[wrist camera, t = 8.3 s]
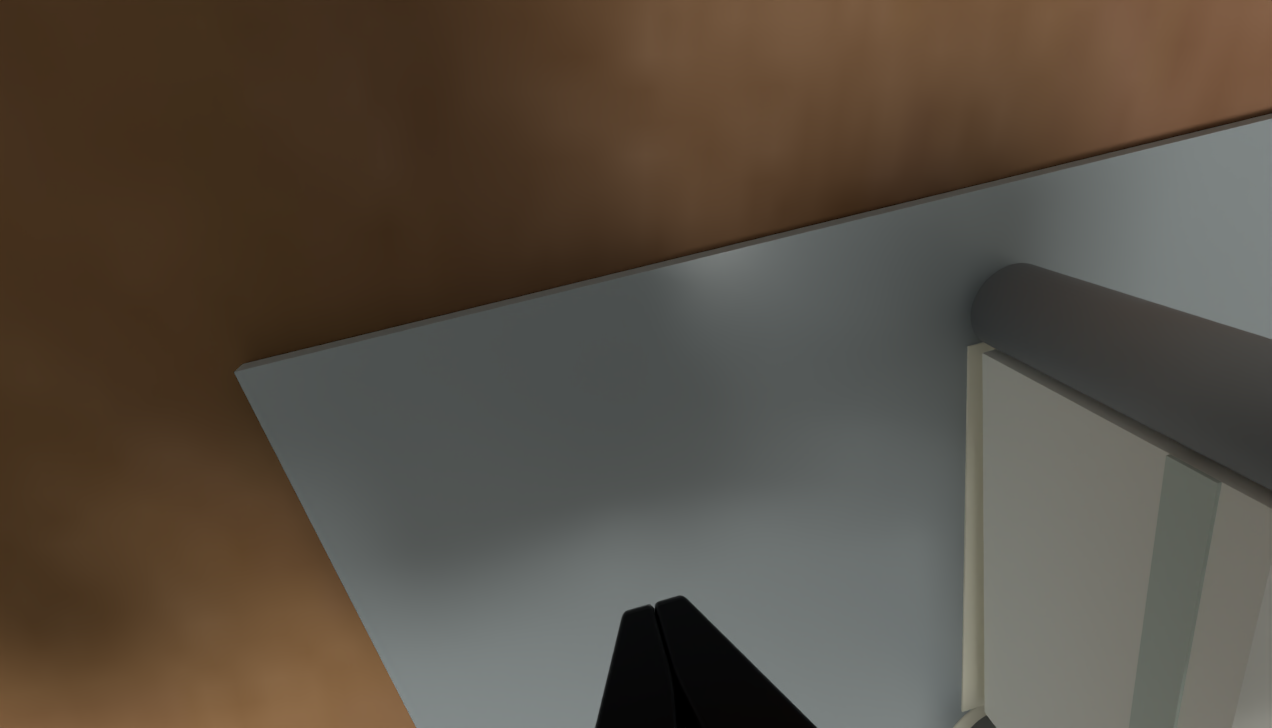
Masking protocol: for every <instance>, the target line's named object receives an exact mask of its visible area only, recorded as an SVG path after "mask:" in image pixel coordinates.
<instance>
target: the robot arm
mask: <svg viewBox="0 0 1272 728" xmlns="http://www.w3.org/2000/svg"><path fill="white" fill-rule="evenodd" d="M595 728H817V727H816V726H815V725H814V724H813V723H812V722H811V721H810V720H809V719H808V718H807V717H806V716H805V715H804V714H803V713H802V712H801V711H800V710H799V709H798V708H797V707H796V706H795V705H794V704H793V703H792V702H791V701H790V700H789V699H788V698H787V697H786V696H785V695H784V694H783V693H782V692H781V691H780V690H779V689H778V688H777V687H776V686H775V685H774V684H773V683H772V682H771V681H770V680H769V679H768V678H767V677H766V676H765V675H764V674H763V673H762V672H761V671H760V670H759V669H758V668H757V667H756V666H755V665H754V664H753V663H752V662H751V661H750V660H749V659H748V658H747V657H746V656H745V655H744V654H743V653H742V652H741V651H740V650H739V649H738V648H737V647H736V646H735V645H734V644H733V643H732V642H731V641H730V640H729V639H728V638H727V637H725V636H724V635H723V634H722V633H721V632H720V631H719V630H718V629H717V628H716V627H715V626H714V625H713V624H712V623H711V622H710V621H709V620H708V619H707V618H706V617H705V616H704V615H703V614H702V613H701V612H700V611H699V610H698V609H697V608H696V607H695V606H694V605H693V604H692V603H691V602H690V601H689V600H688V599H687V598H686V597H684V596H682V595H679V596H675V597H671V598H668V599H664V600H661V601H658V602H657V603H656V604H655V609H654V607H653V606H652V605H650V604H647V605H643V606H640V607H636V608H633V609H629V610H626V611H625V612H624V613H623V615H622V618H621V621H620V626H619V630H618V634H617V638H616V642H615V646H614V651H613V655H612V659H611V663H610V667H609V671H608V675H607V680H606V684H605V688H604V692H603V696H602V700H601V705H600V709H599V713H598V717H597V721H596V725H595Z"/></svg>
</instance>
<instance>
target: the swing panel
mask: <svg viewBox="0 0 1272 728" xmlns="http://www.w3.org/2000/svg"><path fill="white" fill-rule="evenodd" d="M971 325H972V328H973V331H974V333H975V335H976V336H977V337H978V338H979V339H980V340H981V341H982V342H984V343H986V344H988V345H990V346H991V347H993V348H995V349H994V350H991V351H987V352H984V353H982V378H983V536H984V695H985V713H986V715H987V716H988V717H989V719H990V720H991V721H992V723H993V724H994V725H995V727H996V728H1272V339H1269V338H1266V337H1263V336H1260V335H1257V334H1253V333H1250V332H1247V331H1244V330H1241V329H1237V328H1234V327H1231V326H1228V325H1225V324H1221V323H1218V322H1215V321H1212V320H1209V319H1205V318H1202V317H1199V316H1196V315H1193V314H1189V313H1186V312H1183V311H1180V310H1177V309H1173V308H1170V307H1167V306H1164V305H1161V304H1157V303H1154V302H1151V301H1148V300H1145V299H1141V298H1138V297H1135V296H1132V295H1129V294H1125V293H1122V292H1119V291H1116V290H1113V289H1109V288H1106V287H1103V286H1100V285H1097V284H1093V283H1090V282H1087V281H1084V280H1081V279H1077V278H1074V277H1071V276H1068V275H1065V274H1061V273H1058V272H1055V271H1052V270H1049V269H1045V268H1042V267H1039V266H1036V265H1033V264H1028V263H1016V264H1012V265H1009V266H1006V267H1004V268H1002V269H1000V270H998V271H997V272H995V273H994V274H993V275H992V276H990V277H989V278H988V279H987V280H986V281H985V283H984V284H983V285H982V286H981V288H980V289H979V291H978V293H977V294H976V296H975V299H974V301H973V304H972V308H971Z"/></svg>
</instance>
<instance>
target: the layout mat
mask: <svg viewBox="0 0 1272 728" xmlns="http://www.w3.org/2000/svg"><path fill="white" fill-rule="evenodd" d="M1016 263H1028V264H1033V265H1036V266H1039V267H1042V268H1045V269H1049V270H1052V271H1055V272H1058V273H1061V274H1065V275H1068V276H1071V277H1074V278H1077V279H1081V280H1084V281H1087V282H1090V283H1093V284H1097V285H1100V286H1103V287H1106V288H1109V289H1113V290H1116V291H1119V292H1122V293H1125V294H1129V295H1132V296H1135V297H1138V298H1141V299H1145V300H1148V301H1151V302H1154V303H1157V304H1161V305H1164V306H1167V307H1170V308H1173V309H1177V310H1180V311H1183V312H1186V313H1189V314H1193V315H1196V316H1199V317H1202V318H1205V319H1209V320H1212V321H1215V322H1218V323H1221V324H1225V325H1228V326H1231V327H1234V328H1237V329H1241V330H1244V331H1247V332H1250V333H1253V334H1257V335H1260V336H1263V337H1266V338H1269V339H1272V113H1271V114H1267V115H1263V116H1259V117H1255V118H1250V119H1246V120H1242V121H1238V122H1234V123H1230V124H1226V125H1222V126H1218V127H1214V128H1209V129H1205V130H1201V131H1197V132H1193V133H1189V134H1185V135H1181V136H1177V137H1172V138H1168V139H1164V140H1160V141H1156V142H1152V143H1148V144H1144V145H1140V146H1136V147H1131V148H1127V149H1123V150H1119V151H1115V152H1111V153H1107V154H1103V155H1099V156H1094V157H1090V158H1086V159H1082V160H1078V161H1074V162H1070V163H1066V164H1062V165H1058V166H1053V167H1049V168H1045V169H1041V170H1037V171H1033V172H1029V173H1025V174H1021V175H1016V176H1012V177H1008V178H1004V179H1000V180H996V181H992V182H988V183H984V184H980V185H975V186H971V187H967V188H963V189H959V190H955V191H951V192H947V193H943V194H938V195H934V196H930V197H926V198H922V199H918V200H914V201H910V202H906V203H902V204H897V205H893V206H889V207H885V208H881V209H877V210H873V211H869V212H865V213H860V214H856V215H852V216H848V217H844V218H840V219H836V220H832V221H828V222H824V223H819V224H815V225H811V226H807V227H803V228H799V229H795V230H791V231H787V232H782V233H778V234H774V235H770V236H766V237H762V238H758V239H754V240H750V241H746V242H741V243H737V244H733V245H729V246H725V247H721V248H717V249H713V250H709V251H704V252H700V253H696V254H692V255H688V256H684V257H680V258H676V259H672V260H668V261H663V262H659V263H655V264H651V265H647V266H643V267H639V268H635V269H631V270H626V271H622V272H618V273H614V274H610V275H606V276H602V277H598V278H594V279H590V280H585V281H581V282H577V283H573V284H569V285H565V286H561V287H557V288H553V289H548V290H544V291H540V292H536V293H532V294H528V295H524V296H520V297H516V298H512V299H507V300H503V301H499V302H495V303H491V304H487V305H483V306H479V307H475V308H470V309H466V310H462V311H458V312H454V313H450V314H446V315H442V316H438V317H434V318H429V319H425V320H421V321H417V322H413V323H409V324H405V325H401V326H397V327H392V328H388V329H384V330H380V331H376V332H372V333H368V334H364V335H360V336H356V337H351V338H347V339H343V340H339V341H335V342H331V343H327V344H323V345H319V346H314V347H310V348H306V349H302V350H298V351H294V352H290V353H286V354H282V355H278V356H273V357H269V358H265V359H261V360H257V361H253V362H249V363H245V364H242V365H241V366H240V367H239V368H238V369H237V370H235V371H234V373H235V375H236V377H237V379H238V381H239V383H240V385H241V387H242V389H243V391H244V393H245V395H246V397H247V399H248V401H249V403H250V405H251V407H252V409H253V411H254V412H255V414H256V416H257V418H258V420H259V422H260V424H261V426H262V428H263V430H264V432H265V434H266V436H267V438H268V440H269V442H270V444H271V446H272V448H273V449H274V451H275V453H276V455H277V457H278V459H279V461H280V463H281V465H282V467H283V469H284V471H285V473H286V475H287V477H288V479H289V481H290V483H291V485H292V486H293V488H294V490H295V492H296V494H297V496H298V498H299V500H300V502H301V504H302V506H303V508H304V510H305V512H306V514H307V516H308V518H309V520H310V522H311V523H312V525H313V527H314V529H315V531H316V533H317V535H318V537H319V539H320V541H321V543H322V545H323V547H324V549H325V551H326V553H327V555H328V557H329V559H330V561H331V562H332V564H333V566H334V568H335V570H336V572H337V574H338V576H339V578H340V580H341V582H342V584H343V586H344V588H345V590H346V592H347V594H348V596H349V598H350V599H351V601H352V603H353V605H354V607H355V609H356V611H357V613H358V615H359V617H360V619H361V621H362V623H363V625H364V627H365V629H366V631H367V633H368V635H369V636H370V638H371V640H372V642H373V644H374V646H375V648H376V650H377V652H378V654H379V656H380V658H381V660H382V662H383V664H384V666H385V668H386V670H387V672H388V673H389V675H390V677H391V679H392V681H393V683H394V685H395V687H396V689H397V691H398V693H399V695H400V697H401V699H402V701H403V703H404V705H405V707H406V709H407V711H408V712H409V714H410V716H411V718H412V720H413V722H414V724H415V726H416V728H595V725H596V721H597V717H598V713H599V709H600V705H601V700H602V696H603V692H604V688H605V684H606V680H607V675H608V671H609V667H610V663H611V659H612V655H613V651H614V646H615V642H616V638H617V634H618V630H619V626H620V621H621V618H622V615H623V613H624V612H625V611H626V610H629V609H633V608H636V607H640V606H643V605H647V604H650V605H652V606H653V607H654V609H655V604H656V603H657V602H658V601H661V600H664V599H668V598H671V597H675V596H679V595H682V596H684V597H686V598H687V599H688V600H689V601H690V602H691V603H692V604H693V605H694V606H695V607H696V608H697V609H698V610H699V611H700V612H701V613H702V614H703V615H704V616H705V617H706V618H707V619H708V620H709V621H710V622H711V623H712V624H713V625H714V626H715V627H716V628H717V629H718V630H719V631H720V632H721V633H722V634H723V635H724V636H725V637H727V638H728V639H729V640H730V641H731V642H732V643H733V644H734V645H735V646H736V647H737V648H738V649H739V650H740V651H741V652H742V653H743V654H744V655H745V656H746V657H747V658H748V659H749V660H750V661H751V662H752V663H753V664H754V665H755V666H756V667H757V668H758V669H759V670H760V671H761V672H762V673H763V674H764V675H765V676H766V677H767V678H768V679H769V680H770V681H771V682H772V683H773V684H774V685H775V686H776V687H777V688H778V689H779V690H780V691H781V692H782V693H783V694H784V695H785V696H786V697H787V698H788V699H789V700H790V701H791V702H792V703H793V704H794V705H795V706H796V707H797V708H798V709H799V710H800V711H801V712H802V713H803V714H804V715H805V716H806V717H807V718H808V719H809V720H810V721H811V722H812V723H813V724H814V725H815V726H816V727H817V728H971V727H972V726H973V725H974V724H975V723H976V722H977V721H979V720H980V719H981V718H983V717H984V716H986V713H985V695H984V536H983V378H982V353H984V352H987V351H991V350H994V349H995V348H993V347H991V346H990V345H988V344H986V343H984V342H982V341H981V340H980V339H979V338H978V337H977V336H976V335H975V333H974V331H973V328H972V325H971V308H972V304H973V301H974V299H975V296H976V294H977V293H978V291H979V289H980V288H981V286H982V285H983V284H984V283H985V281H986V280H987V279H988V278H989V277H990V276H992V275H993V274H994V273H995V272H997V271H998V270H1000V269H1002V268H1004V267H1006V266H1009V265H1012V264H1016Z"/></svg>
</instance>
